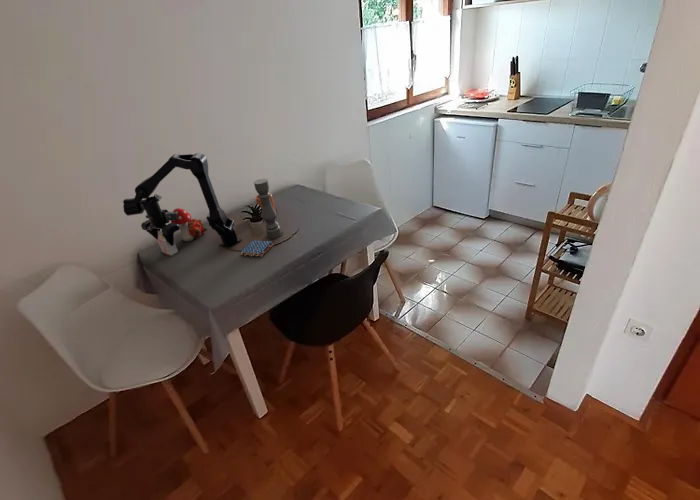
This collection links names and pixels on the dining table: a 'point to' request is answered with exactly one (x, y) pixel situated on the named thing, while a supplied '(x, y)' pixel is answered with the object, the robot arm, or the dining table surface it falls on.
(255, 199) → the terracotta cup
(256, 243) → the woven mat
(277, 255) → the dining table surface
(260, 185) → the candle holder
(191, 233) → the dragon fruit
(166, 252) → the white printed carton
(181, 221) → the decorative mushroom
